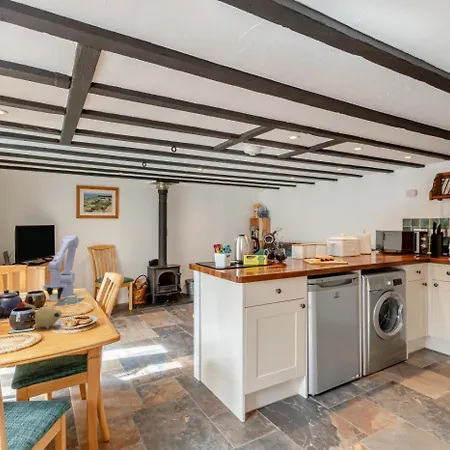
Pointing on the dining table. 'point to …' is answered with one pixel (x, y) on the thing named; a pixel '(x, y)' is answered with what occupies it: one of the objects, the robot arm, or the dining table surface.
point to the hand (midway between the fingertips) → (55, 298)
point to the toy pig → (47, 317)
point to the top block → (54, 297)
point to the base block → (72, 299)
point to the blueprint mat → (64, 302)
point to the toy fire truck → (25, 305)
